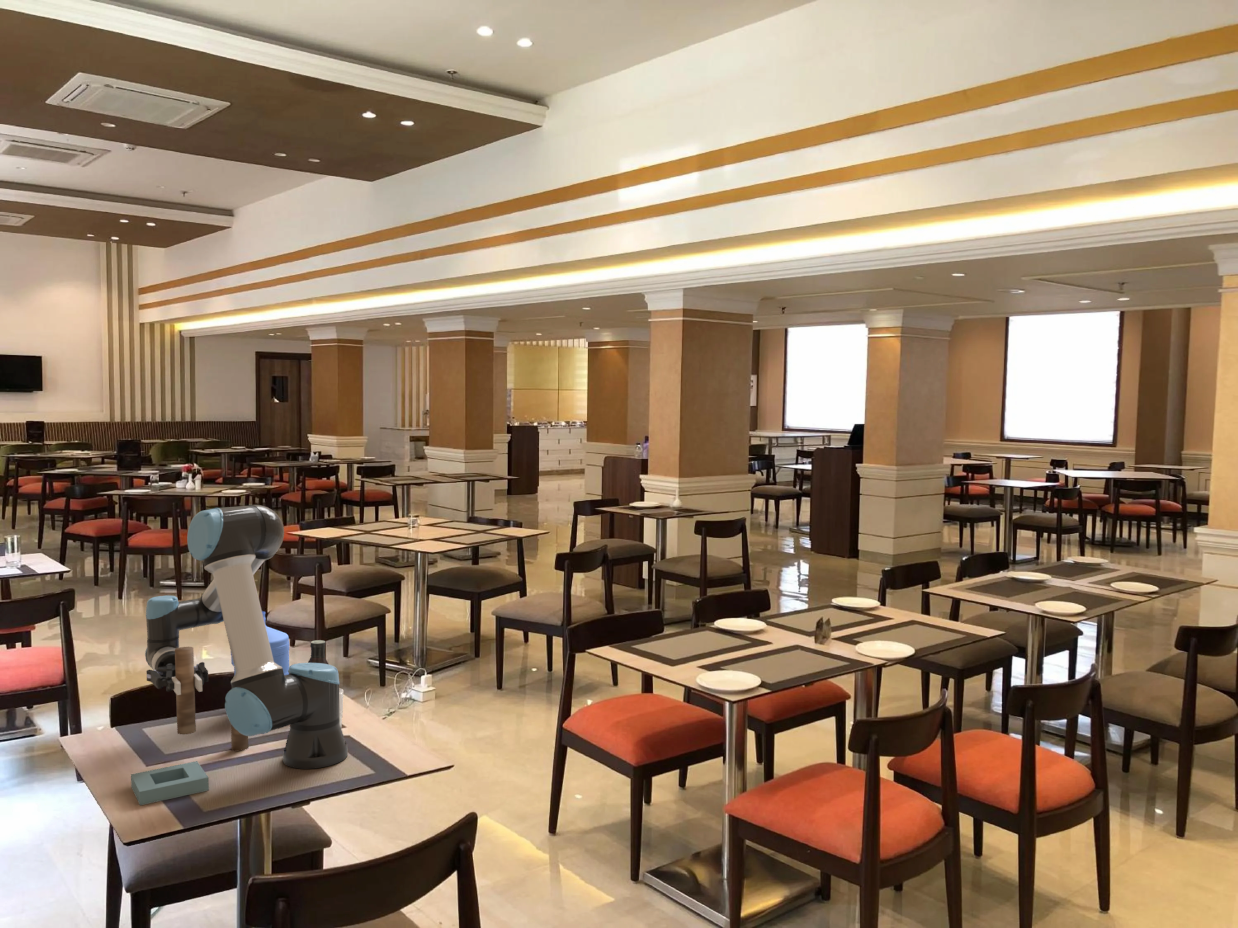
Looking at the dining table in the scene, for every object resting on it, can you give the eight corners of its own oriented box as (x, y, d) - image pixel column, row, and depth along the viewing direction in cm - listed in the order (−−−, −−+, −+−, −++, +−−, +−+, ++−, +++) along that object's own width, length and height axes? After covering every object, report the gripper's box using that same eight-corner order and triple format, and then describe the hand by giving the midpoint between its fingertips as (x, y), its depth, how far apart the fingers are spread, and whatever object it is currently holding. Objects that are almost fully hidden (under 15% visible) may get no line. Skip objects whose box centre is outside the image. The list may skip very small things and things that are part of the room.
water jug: (279, 697, 282) (276, 604, 280) (299, 710, 270) (297, 613, 268) (224, 708, 272) (222, 611, 271) (242, 722, 260) (240, 621, 258)
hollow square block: (131, 786, 217) (130, 773, 216) (197, 773, 225) (197, 760, 224) (140, 805, 207) (139, 791, 207) (208, 790, 215) (208, 777, 215)
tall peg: (199, 730, 228) (197, 647, 227) (185, 735, 225) (183, 651, 223) (187, 727, 230) (185, 645, 229) (173, 732, 226) (170, 649, 225)
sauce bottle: (304, 715, 266) (303, 645, 265) (305, 708, 272) (304, 639, 271) (329, 713, 268) (328, 643, 267) (329, 706, 274) (328, 638, 273)
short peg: (251, 746, 242) (251, 711, 241) (239, 751, 238) (238, 716, 238) (240, 744, 244) (239, 709, 243) (227, 749, 240) (226, 714, 240)
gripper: (206, 674, 246) (228, 696, 227) (133, 685, 237) (150, 709, 217) (206, 645, 246) (227, 665, 227) (132, 655, 236) (149, 677, 217)
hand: (189, 687), depth 222 cm, fingers closed on tall peg, 4 cm apart
